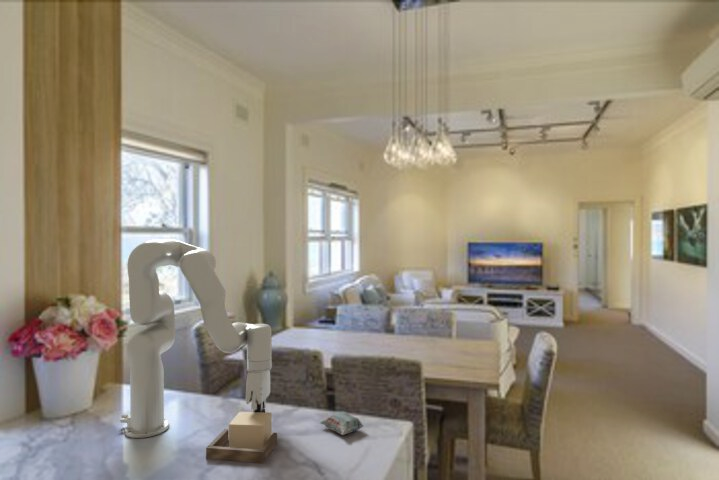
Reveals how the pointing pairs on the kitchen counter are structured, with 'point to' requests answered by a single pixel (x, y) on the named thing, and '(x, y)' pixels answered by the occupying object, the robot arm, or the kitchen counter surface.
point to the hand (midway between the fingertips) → (259, 422)
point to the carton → (250, 430)
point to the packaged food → (342, 423)
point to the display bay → (239, 450)
